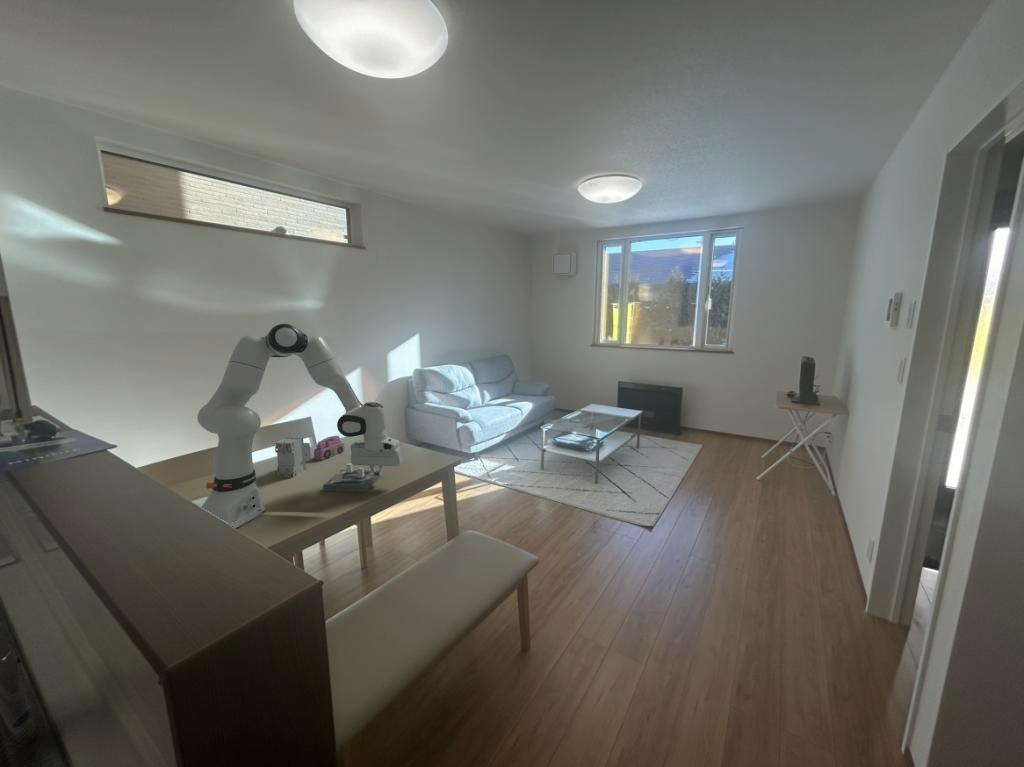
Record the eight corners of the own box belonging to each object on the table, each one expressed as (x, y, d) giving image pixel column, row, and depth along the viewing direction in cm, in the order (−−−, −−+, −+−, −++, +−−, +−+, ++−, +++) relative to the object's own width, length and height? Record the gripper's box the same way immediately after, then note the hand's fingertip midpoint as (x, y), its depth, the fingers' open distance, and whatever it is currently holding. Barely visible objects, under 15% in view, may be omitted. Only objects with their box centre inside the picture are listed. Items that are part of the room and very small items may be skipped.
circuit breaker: (313, 465, 188) (311, 433, 185) (294, 477, 174) (291, 443, 171) (298, 464, 189) (295, 433, 186) (277, 476, 175) (274, 442, 172)
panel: (366, 491, 160) (365, 485, 159) (323, 491, 160) (323, 484, 160) (381, 476, 175) (380, 470, 175) (342, 475, 176) (341, 469, 176)
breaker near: (340, 482, 162) (339, 473, 161) (335, 482, 162) (335, 473, 161) (342, 480, 164) (341, 472, 163) (338, 480, 164) (337, 471, 163)
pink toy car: (323, 462, 192) (321, 442, 190) (313, 460, 194) (311, 440, 192) (351, 451, 208) (350, 432, 206) (341, 449, 210) (340, 430, 209)
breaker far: (351, 472, 171) (350, 464, 171) (346, 472, 172) (346, 464, 171) (353, 470, 173) (352, 463, 173) (349, 470, 174) (348, 463, 173)
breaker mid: (362, 477, 166) (361, 469, 166) (358, 477, 166) (357, 469, 166) (364, 475, 168) (363, 467, 168) (360, 475, 168) (359, 467, 168)
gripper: (346, 444, 162) (349, 477, 164) (397, 445, 161) (399, 478, 163) (353, 439, 168) (355, 471, 170) (402, 440, 167) (404, 472, 169)
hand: (377, 475), depth 167 cm, fingers closed
